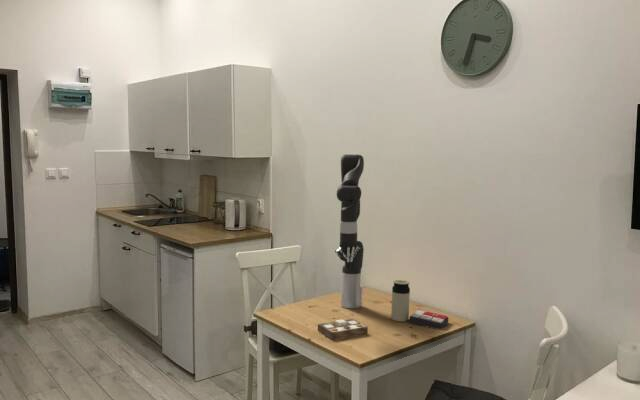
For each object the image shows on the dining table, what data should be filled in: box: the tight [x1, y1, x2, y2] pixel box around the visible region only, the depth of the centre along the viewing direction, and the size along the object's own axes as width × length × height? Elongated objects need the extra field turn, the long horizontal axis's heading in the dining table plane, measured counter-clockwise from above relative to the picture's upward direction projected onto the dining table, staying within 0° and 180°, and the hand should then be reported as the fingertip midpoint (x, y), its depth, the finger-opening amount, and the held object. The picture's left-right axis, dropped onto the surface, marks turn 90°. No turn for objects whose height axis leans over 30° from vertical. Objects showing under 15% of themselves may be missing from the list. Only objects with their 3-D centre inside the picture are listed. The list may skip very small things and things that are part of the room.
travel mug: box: [390, 279, 411, 323], centre depth 247 cm, size 8×8×18 cm
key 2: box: [347, 320, 359, 325], centre depth 232 cm, size 4×4×2 cm
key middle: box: [334, 319, 347, 327], centre depth 229 cm, size 4×4×2 cm
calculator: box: [408, 309, 449, 330], centre depth 244 cm, size 11×4×15 cm
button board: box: [317, 318, 369, 341], centre depth 228 cm, size 18×12×3 cm
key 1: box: [323, 324, 335, 329], centre depth 227 cm, size 4×4×2 cm
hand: (348, 269), depth 236 cm, fingers closed
